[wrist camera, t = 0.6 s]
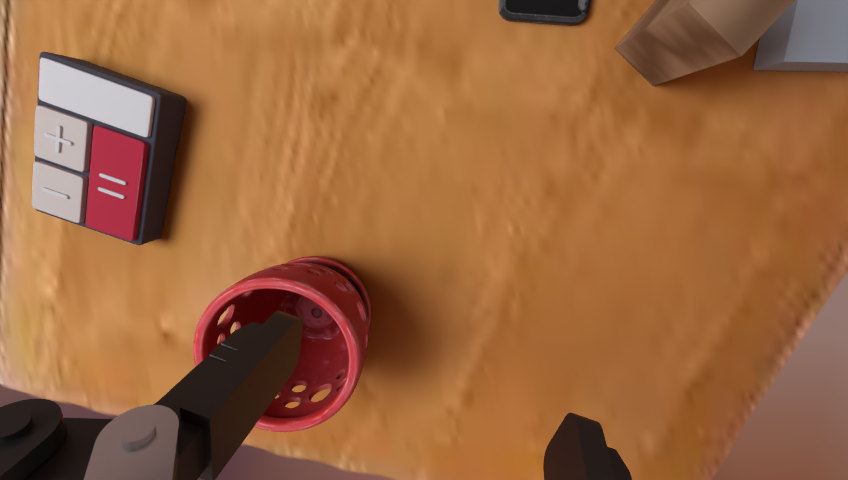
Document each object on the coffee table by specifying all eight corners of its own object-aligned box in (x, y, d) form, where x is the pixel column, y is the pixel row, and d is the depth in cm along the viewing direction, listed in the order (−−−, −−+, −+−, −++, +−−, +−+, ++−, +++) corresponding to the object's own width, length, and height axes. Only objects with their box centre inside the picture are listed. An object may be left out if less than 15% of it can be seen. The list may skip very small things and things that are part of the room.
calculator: (23, 211, 35) (28, 47, 31) (67, 203, 39) (78, 58, 35) (134, 249, 35) (154, 92, 31) (167, 237, 39) (188, 97, 35)
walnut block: (614, 48, 33) (688, 2, 23) (656, 0, 32) (752, -70, 22) (652, 85, 33) (741, 56, 24) (695, 39, 32) (806, -12, 23)
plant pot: (384, 357, 41) (362, 438, 29) (268, 354, 41) (200, 432, 29) (381, 243, 38) (355, 282, 26) (256, 241, 38) (176, 279, 26)
